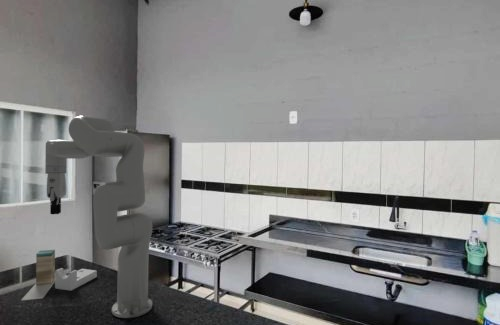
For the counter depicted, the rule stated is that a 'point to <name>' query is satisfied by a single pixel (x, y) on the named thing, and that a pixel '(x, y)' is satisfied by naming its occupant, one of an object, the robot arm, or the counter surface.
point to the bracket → (73, 278)
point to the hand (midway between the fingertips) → (55, 213)
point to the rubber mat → (37, 291)
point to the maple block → (45, 267)
